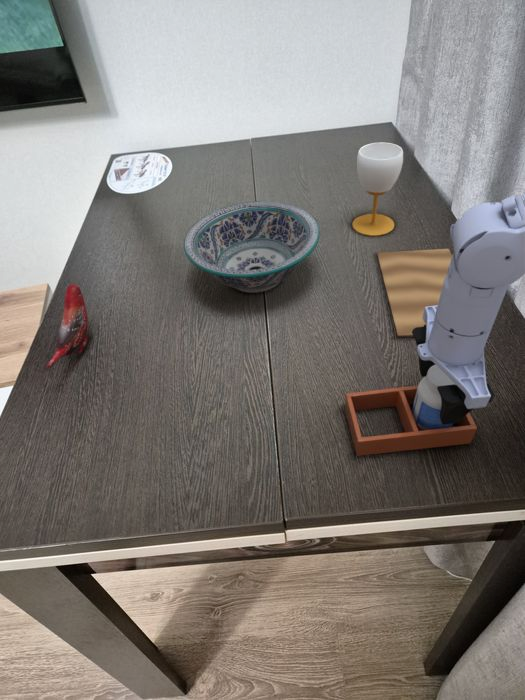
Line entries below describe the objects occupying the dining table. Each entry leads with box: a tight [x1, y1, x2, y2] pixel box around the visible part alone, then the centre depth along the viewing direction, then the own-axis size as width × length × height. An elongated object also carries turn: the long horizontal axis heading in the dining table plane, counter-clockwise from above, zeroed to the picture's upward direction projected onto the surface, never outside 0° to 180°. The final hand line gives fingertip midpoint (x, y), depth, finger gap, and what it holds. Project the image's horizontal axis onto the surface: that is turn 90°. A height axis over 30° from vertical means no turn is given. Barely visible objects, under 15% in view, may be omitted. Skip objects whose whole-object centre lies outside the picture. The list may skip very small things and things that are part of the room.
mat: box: [376, 248, 453, 339], centre depth 79 cm, size 24×14×1 cm, turn 178°
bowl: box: [183, 200, 321, 294], centre depth 84 cm, size 25×25×10 cm
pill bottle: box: [411, 365, 456, 431], centre depth 57 cm, size 6×5×10 cm
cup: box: [352, 141, 404, 237], centre depth 90 cm, size 9×9×16 cm
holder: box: [344, 384, 478, 457], centre depth 59 cm, size 15×8×4 cm, turn 94°
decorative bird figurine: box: [45, 283, 90, 371], centre depth 72 cm, size 3×18×10 cm, turn 178°
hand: (438, 396), depth 56 cm, fingers open, 7 cm apart
